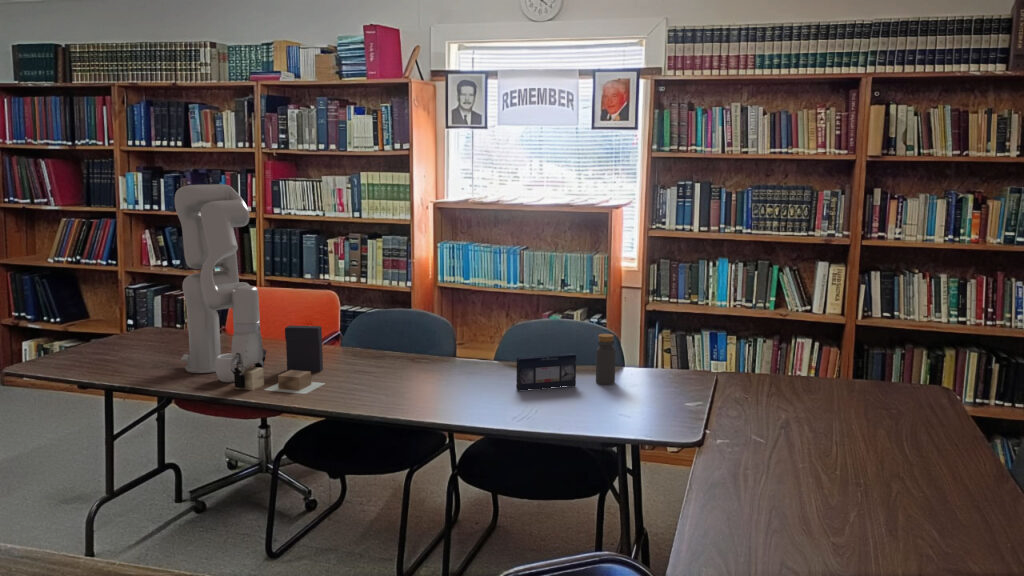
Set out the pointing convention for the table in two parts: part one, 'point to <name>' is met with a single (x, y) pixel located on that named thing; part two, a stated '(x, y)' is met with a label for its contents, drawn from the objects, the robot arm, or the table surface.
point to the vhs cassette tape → (546, 371)
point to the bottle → (605, 360)
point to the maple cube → (253, 378)
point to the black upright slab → (304, 348)
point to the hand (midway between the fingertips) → (249, 383)
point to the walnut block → (294, 380)
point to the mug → (224, 368)
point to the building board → (302, 391)
